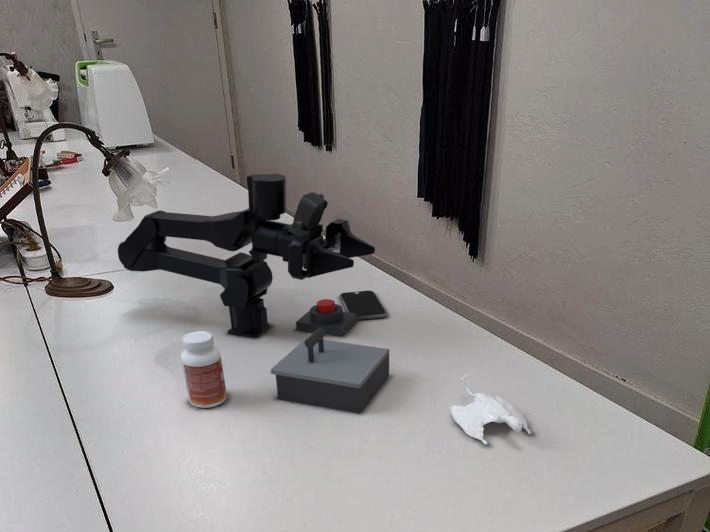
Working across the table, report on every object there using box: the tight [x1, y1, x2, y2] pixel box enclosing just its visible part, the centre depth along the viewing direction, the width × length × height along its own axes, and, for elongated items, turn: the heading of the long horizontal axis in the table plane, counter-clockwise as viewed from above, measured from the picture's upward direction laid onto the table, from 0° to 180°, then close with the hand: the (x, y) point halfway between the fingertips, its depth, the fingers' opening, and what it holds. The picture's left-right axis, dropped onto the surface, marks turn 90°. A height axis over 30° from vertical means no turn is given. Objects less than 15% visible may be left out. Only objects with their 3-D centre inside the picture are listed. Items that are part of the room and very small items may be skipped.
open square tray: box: [275, 353, 390, 414], centre depth 108 cm, size 15×14×4 cm
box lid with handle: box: [270, 328, 390, 389], centre depth 106 cm, size 15×14×5 cm
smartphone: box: [339, 290, 387, 321], centre depth 139 cm, size 8×1×15 cm
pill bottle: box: [180, 330, 228, 409], centre depth 104 cm, size 6×6×11 cm
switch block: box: [295, 303, 358, 337], centre depth 130 cm, size 10×8×4 cm
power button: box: [316, 298, 336, 313], centre depth 129 cm, size 4×4×2 cm
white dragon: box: [450, 374, 532, 446], centre depth 99 cm, size 18×10×4 cm, turn 21°
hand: (364, 256), depth 112 cm, fingers open, 9 cm apart
